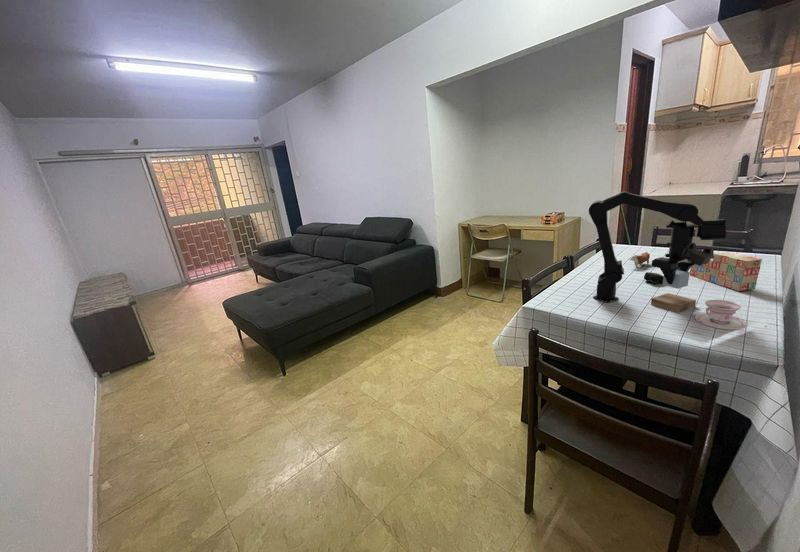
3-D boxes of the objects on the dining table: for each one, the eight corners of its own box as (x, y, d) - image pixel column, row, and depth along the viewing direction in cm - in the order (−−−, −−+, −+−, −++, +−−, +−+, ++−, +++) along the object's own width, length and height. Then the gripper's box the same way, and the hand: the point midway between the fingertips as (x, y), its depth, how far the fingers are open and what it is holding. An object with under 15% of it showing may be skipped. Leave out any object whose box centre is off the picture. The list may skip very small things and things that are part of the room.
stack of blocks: (688, 275, 141) (692, 249, 137) (702, 274, 141) (706, 247, 137) (739, 291, 120) (746, 260, 117) (756, 289, 120) (762, 258, 117)
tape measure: (650, 283, 134) (653, 275, 133) (639, 279, 141) (641, 271, 140) (666, 285, 134) (669, 277, 133) (653, 280, 141) (656, 272, 140)
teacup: (719, 312, 107) (722, 295, 105) (759, 328, 96) (763, 309, 94) (684, 316, 107) (687, 299, 105) (719, 332, 96) (723, 314, 94)
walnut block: (677, 313, 110) (679, 305, 109) (650, 305, 118) (651, 298, 118) (694, 307, 113) (696, 300, 112) (667, 300, 121) (668, 293, 120)
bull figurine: (626, 270, 157) (627, 254, 155) (642, 264, 162) (644, 249, 160) (635, 272, 153) (637, 255, 151) (652, 266, 158) (654, 250, 156)
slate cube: (678, 288, 110) (680, 275, 109) (662, 284, 115) (664, 271, 113) (687, 285, 112) (689, 272, 110) (671, 282, 116) (673, 269, 115)
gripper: (690, 248, 99) (683, 294, 103) (728, 238, 104) (720, 283, 108) (652, 243, 109) (647, 285, 113) (689, 234, 114) (683, 275, 118)
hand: (675, 282), depth 113 cm, fingers closed on slate cube, 5 cm apart
